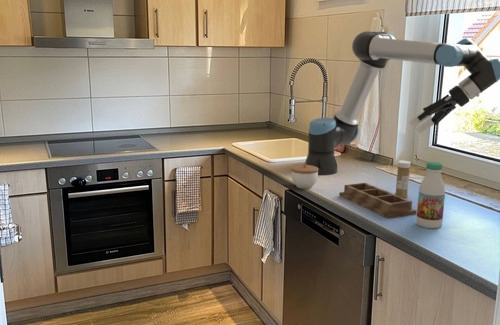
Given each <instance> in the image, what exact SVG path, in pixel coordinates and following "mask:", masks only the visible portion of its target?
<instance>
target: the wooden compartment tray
mask: <svg viewBox="0 0 500 325" xmlns="http://www.w3.org/2000/svg"><path fill="white" fill-rule="evenodd" d="M343 188H344V189H343V190H344V191H340V192H339V194H338V196H339V195H340V197H341V198H344V199H346V200H348V201H350V202H352V201H353V202H352V203H354V202H355V204H356V203H357V205H359V206H361V207H363V208H364V209H367V210H369V211H372V212H374V213H376V214H377V215H380V216H382V217H384V218H387V219H391V218H398V217H405V216H409V215H410V216H411V215H417V209H414V208H413V200H410V199H407V198H406V197H405V198H402V197H400V196H397V195H395V194H396V193H392V192H390V191H388V190H384V189H382V188H379V187H377V186H375V185H372V184H369V183H367V182H361V183H351V184H344V187H343Z"/></svg>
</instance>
